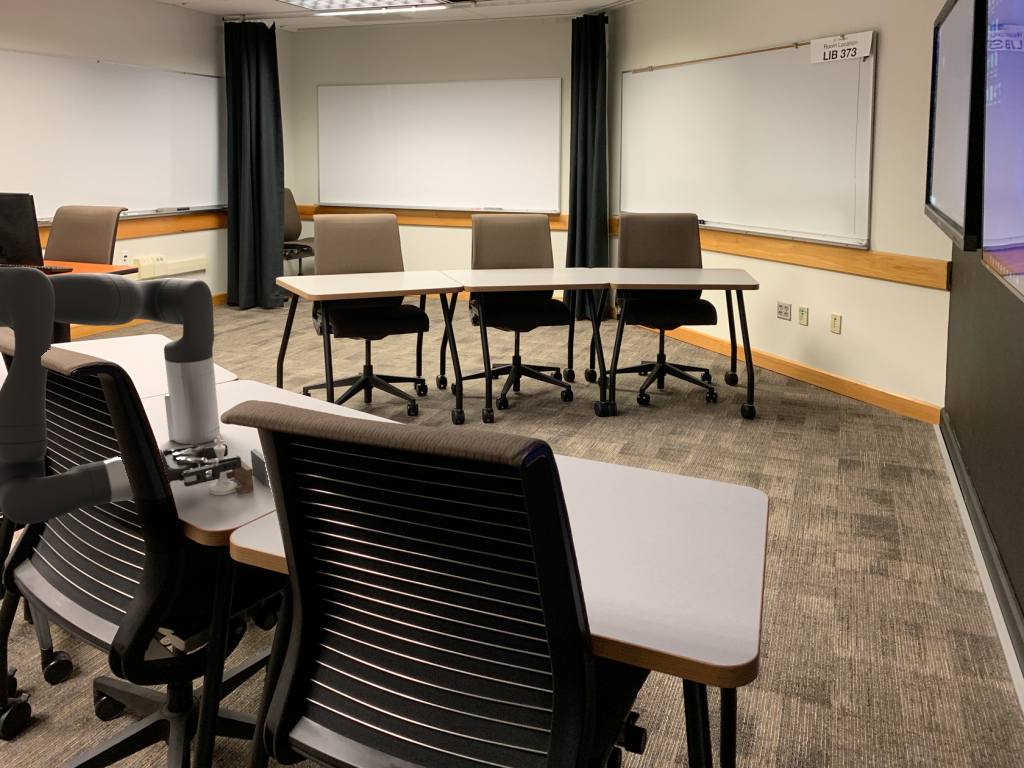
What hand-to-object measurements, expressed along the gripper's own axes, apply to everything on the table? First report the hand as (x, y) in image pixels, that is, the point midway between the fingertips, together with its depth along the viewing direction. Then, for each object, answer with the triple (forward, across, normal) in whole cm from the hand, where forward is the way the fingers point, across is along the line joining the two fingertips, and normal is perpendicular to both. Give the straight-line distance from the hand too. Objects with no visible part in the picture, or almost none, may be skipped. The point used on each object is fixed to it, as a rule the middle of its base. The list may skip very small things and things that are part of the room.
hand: (233, 455), depth 157 cm
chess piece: (-2, 0, +6) cm, 7 cm away
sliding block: (+1, 0, +6) cm, 6 cm away
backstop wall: (+5, 0, +6) cm, 8 cm away
